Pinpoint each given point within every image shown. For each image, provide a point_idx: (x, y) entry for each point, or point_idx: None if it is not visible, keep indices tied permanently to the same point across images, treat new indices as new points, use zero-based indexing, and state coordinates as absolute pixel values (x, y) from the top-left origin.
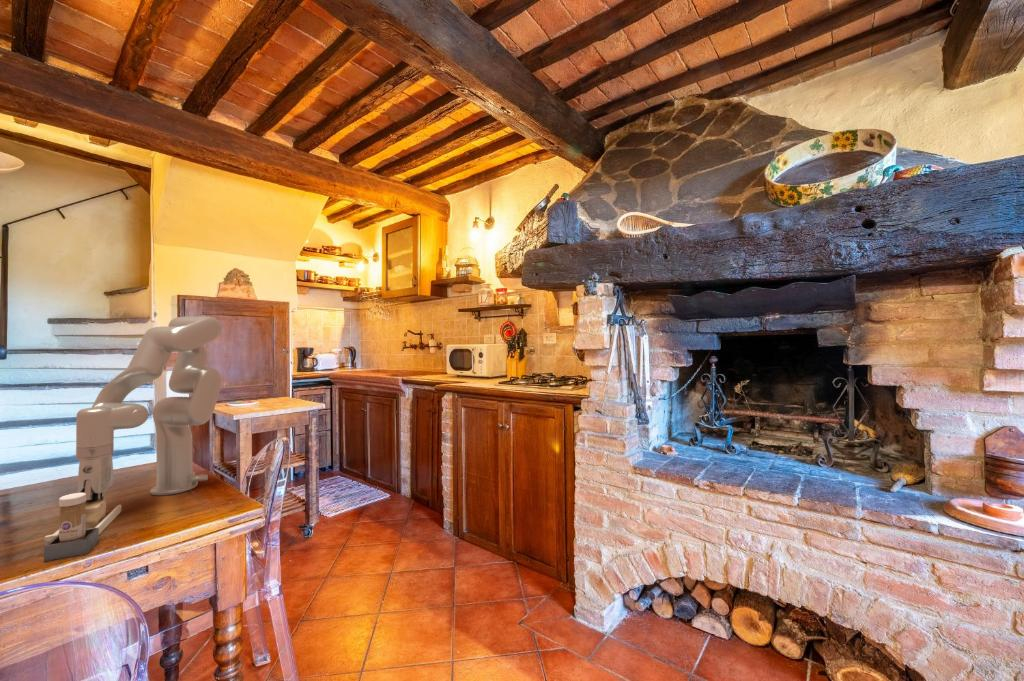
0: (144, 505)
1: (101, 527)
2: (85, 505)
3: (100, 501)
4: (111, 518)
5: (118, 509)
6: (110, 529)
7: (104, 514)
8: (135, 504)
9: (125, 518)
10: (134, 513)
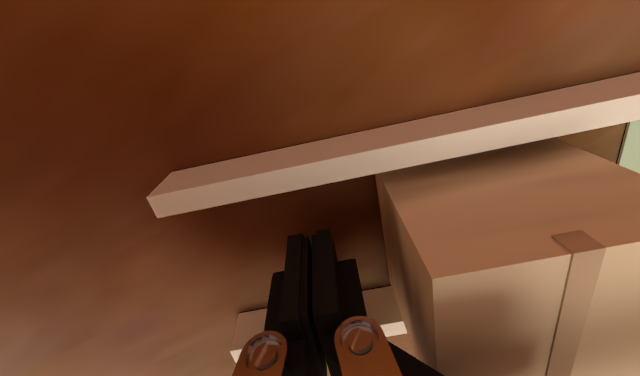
0: (30, 53)
1: (621, 88)
2: (540, 363)
3: (465, 305)
4: (384, 135)
5: (224, 174)
6: (564, 42)
7: (423, 185)
8: (17, 148)
9: (341, 52)
10: (232, 35)
